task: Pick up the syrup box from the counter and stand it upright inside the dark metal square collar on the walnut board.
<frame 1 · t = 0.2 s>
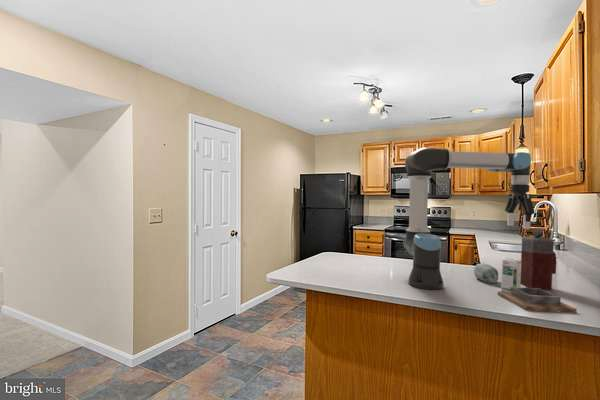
hand: (518, 227, 154), 28 cm above the counter, fingers open, 13 cm apart
board: (533, 303, 124), on the counter
toy vending machine: (537, 287, 147), on the counter
syrup box: (510, 291, 139), on the counter
grey green rock: (485, 281, 156), on the counter
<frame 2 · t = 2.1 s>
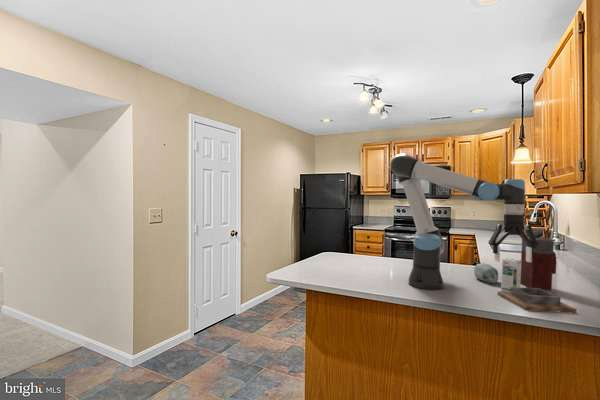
hand: (512, 261, 138), 13 cm above the counter, fingers open, 13 cm apart
nothing on the counter moved.
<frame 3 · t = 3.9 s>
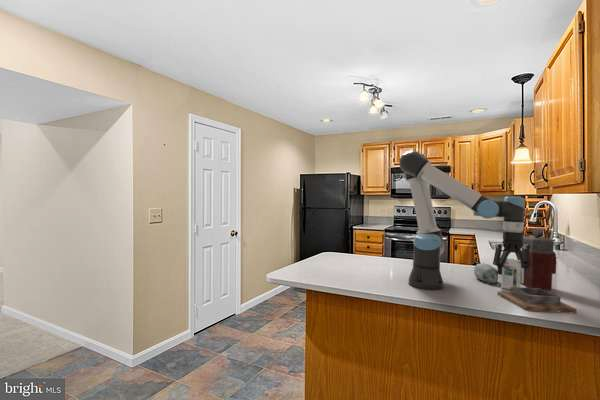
hand: (510, 282, 138), 4 cm above the counter, fingers closed on syrup box, 8 cm apart
syrup box: (510, 291, 139), on the counter, touching gripper
everything else where it was.
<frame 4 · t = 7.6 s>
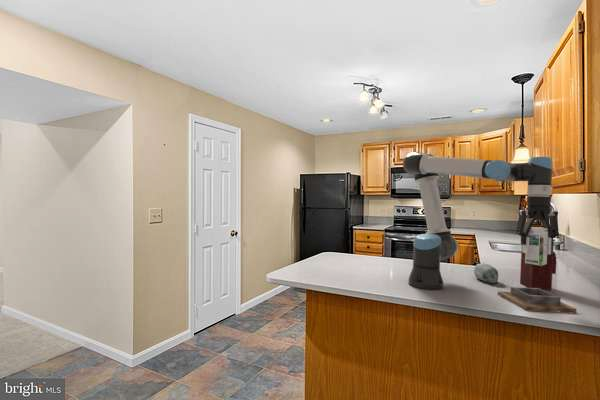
hand: (536, 253, 123), 20 cm above the counter, fingers closed on syrup box, 8 cm apart
syrup box: (535, 264, 123), point 16 cm above the counter, touching gripper
everything else where it was.
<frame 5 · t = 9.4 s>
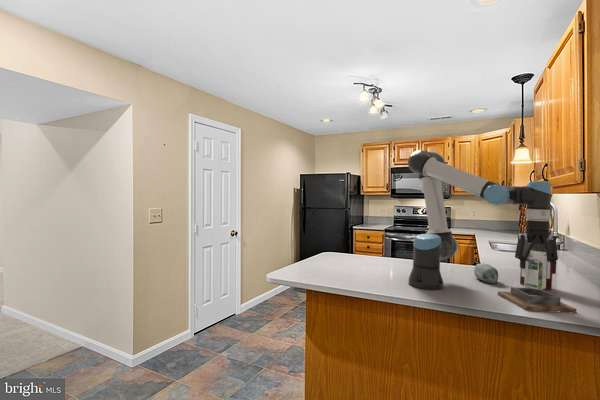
hand: (535, 277, 123), 10 cm above the counter, fingers closed on syrup box, 8 cm apart
syrup box: (534, 288, 123), point 6 cm above the counter, touching gripper
everything else where it was.
when the fingers open (7 cm above the counter, at t = 11.2 s): syrup box drops 1 cm, resting on board.
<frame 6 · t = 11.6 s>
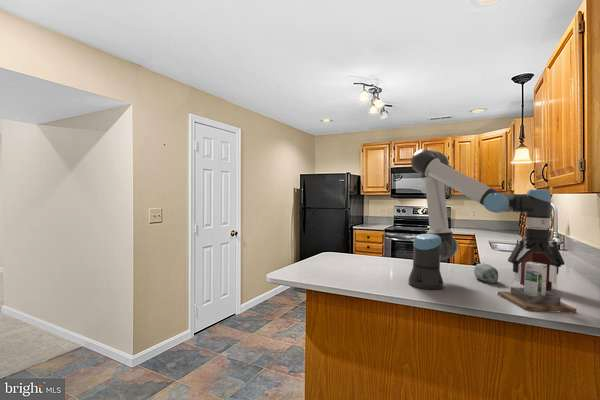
hand: (534, 281, 123), 9 cm above the counter, fingers open, 13 cm apart
syrup box: (534, 299, 124), point 1 cm above the counter, touching board
everything else where it was.
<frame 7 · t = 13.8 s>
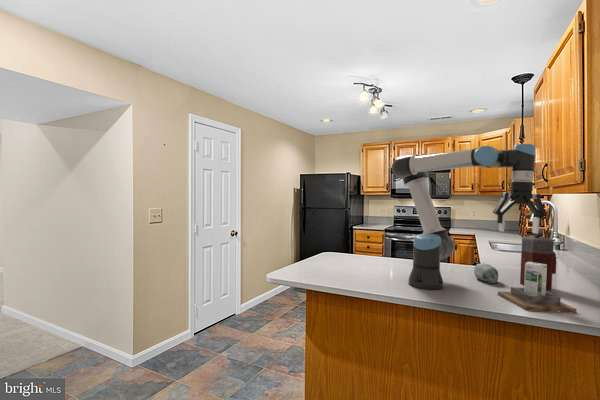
hand: (518, 232, 130), 27 cm above the counter, fingers open, 13 cm apart
nothing on the counter moved.
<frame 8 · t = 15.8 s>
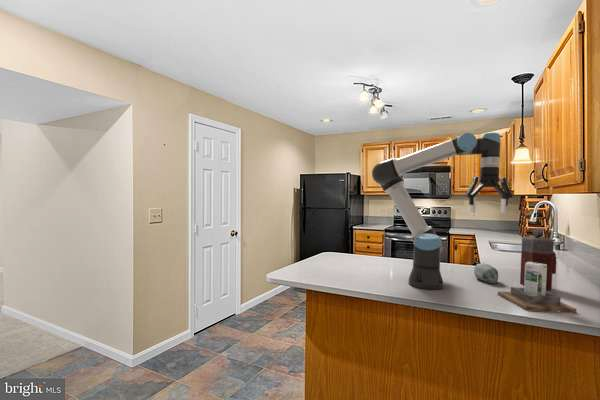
hand: (487, 212, 144), 35 cm above the counter, fingers open, 13 cm apart
nothing on the counter moved.
at the end: syrup box 0.2 cm off-centre on the board, point 1.3 cm above the board's base; syrup box tilted 0°; the gripper is holding nothing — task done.
